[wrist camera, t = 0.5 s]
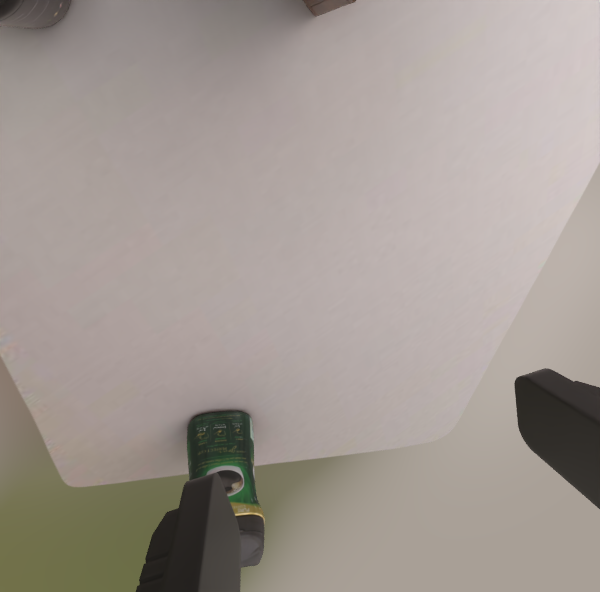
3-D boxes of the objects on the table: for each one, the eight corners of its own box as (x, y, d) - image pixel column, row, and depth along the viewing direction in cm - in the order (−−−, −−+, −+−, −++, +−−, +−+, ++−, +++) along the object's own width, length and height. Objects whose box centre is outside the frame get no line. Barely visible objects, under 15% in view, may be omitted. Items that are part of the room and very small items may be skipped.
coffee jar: (188, 444, 55) (179, 591, 40) (187, 410, 50) (177, 561, 35) (250, 438, 57) (264, 575, 42) (254, 406, 53) (272, 545, 38)
